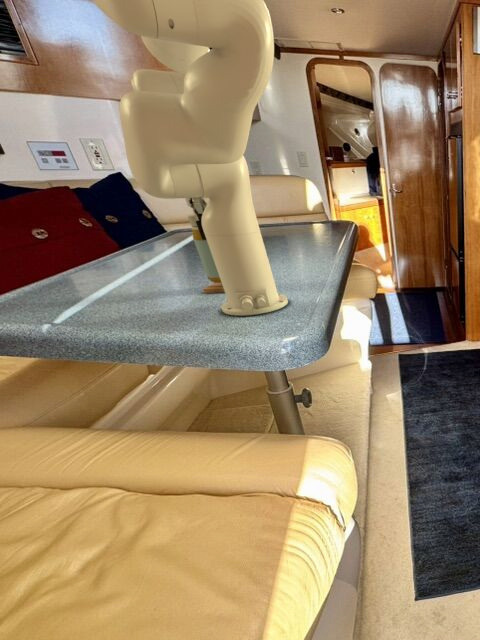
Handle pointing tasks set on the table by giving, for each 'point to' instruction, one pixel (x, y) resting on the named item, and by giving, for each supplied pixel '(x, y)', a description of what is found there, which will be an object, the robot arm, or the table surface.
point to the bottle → (204, 252)
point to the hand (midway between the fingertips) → (211, 236)
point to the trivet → (214, 288)
